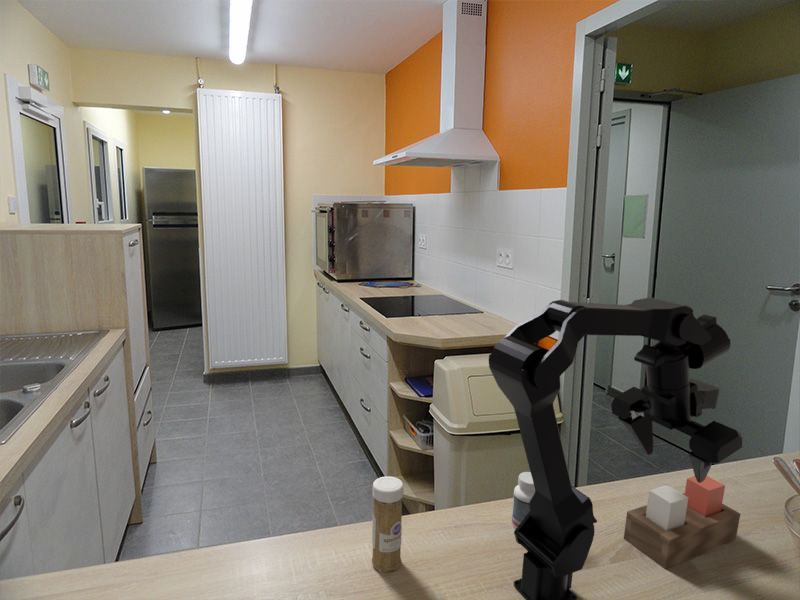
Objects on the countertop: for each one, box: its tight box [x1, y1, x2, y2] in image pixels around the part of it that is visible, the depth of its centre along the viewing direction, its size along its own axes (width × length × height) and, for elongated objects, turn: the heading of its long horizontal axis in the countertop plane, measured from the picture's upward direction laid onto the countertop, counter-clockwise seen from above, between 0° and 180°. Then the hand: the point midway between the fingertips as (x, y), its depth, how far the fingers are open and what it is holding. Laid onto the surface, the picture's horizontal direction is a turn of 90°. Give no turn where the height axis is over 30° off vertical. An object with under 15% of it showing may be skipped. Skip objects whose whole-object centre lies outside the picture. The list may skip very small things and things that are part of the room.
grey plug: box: [646, 484, 688, 531], centre depth 88 cm, size 4×4×5 cm
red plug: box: [684, 475, 726, 517], centre depth 91 cm, size 4×4×5 cm
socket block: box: [623, 492, 741, 570], centre depth 90 cm, size 17×8×5 cm, turn 116°
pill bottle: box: [510, 471, 535, 529], centre depth 93 cm, size 5×5×9 cm
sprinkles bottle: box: [371, 475, 404, 573], centre depth 82 cm, size 5×5×14 cm
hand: (674, 466), depth 86 cm, fingers open, 9 cm apart
